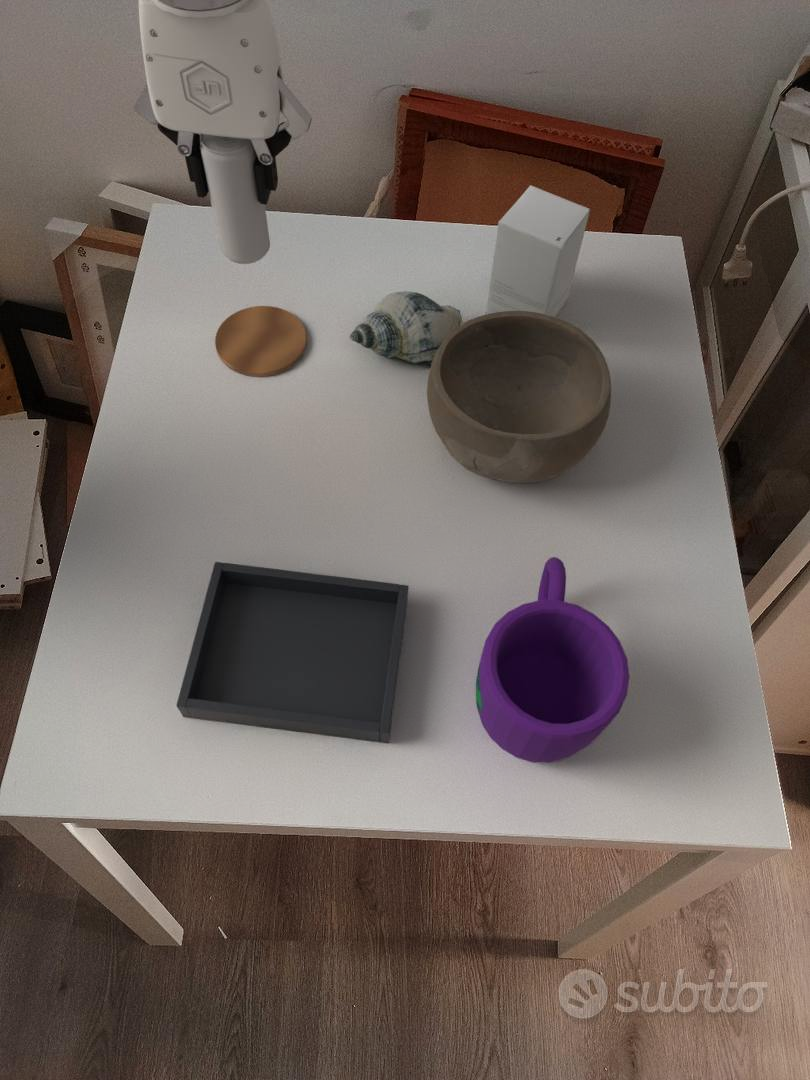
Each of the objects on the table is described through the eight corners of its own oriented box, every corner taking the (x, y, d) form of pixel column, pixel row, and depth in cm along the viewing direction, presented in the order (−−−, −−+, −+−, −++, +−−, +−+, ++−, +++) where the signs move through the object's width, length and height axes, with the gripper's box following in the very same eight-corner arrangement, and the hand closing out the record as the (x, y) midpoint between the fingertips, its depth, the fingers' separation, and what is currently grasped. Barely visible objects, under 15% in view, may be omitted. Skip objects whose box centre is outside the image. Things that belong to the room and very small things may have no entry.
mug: (598, 782, 68) (631, 748, 60) (462, 762, 69) (475, 725, 60) (602, 596, 77) (631, 543, 69) (481, 579, 78) (495, 524, 69)
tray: (183, 717, 70) (175, 705, 68) (220, 576, 77) (214, 561, 74) (388, 743, 70) (389, 733, 67) (407, 599, 76) (408, 585, 74)
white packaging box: (569, 300, 96) (593, 208, 85) (539, 339, 93) (561, 249, 82) (513, 275, 98) (530, 182, 87) (482, 313, 95) (497, 221, 84)
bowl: (452, 354, 92) (460, 285, 83) (609, 399, 89) (634, 332, 80) (400, 475, 83) (403, 412, 75) (571, 528, 81) (595, 469, 72)
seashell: (458, 374, 92) (350, 366, 92) (462, 309, 93) (355, 301, 93) (463, 356, 86) (348, 347, 86) (467, 286, 87) (353, 278, 86)
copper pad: (206, 371, 89) (205, 367, 89) (227, 305, 94) (226, 301, 94) (297, 381, 89) (297, 377, 88) (314, 314, 94) (313, 310, 93)
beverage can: (225, 270, 79) (202, 157, 68) (217, 237, 81) (194, 122, 70) (275, 262, 79) (260, 148, 69) (265, 229, 82) (250, 114, 71)
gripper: (64, -16, 57) (131, 208, 73) (307, 9, 56) (322, 229, 72) (98, -69, 61) (154, 155, 77) (326, -46, 60) (336, 174, 76)
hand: (235, 189), depth 74 cm, fingers closed on beverage can, 4 cm apart
